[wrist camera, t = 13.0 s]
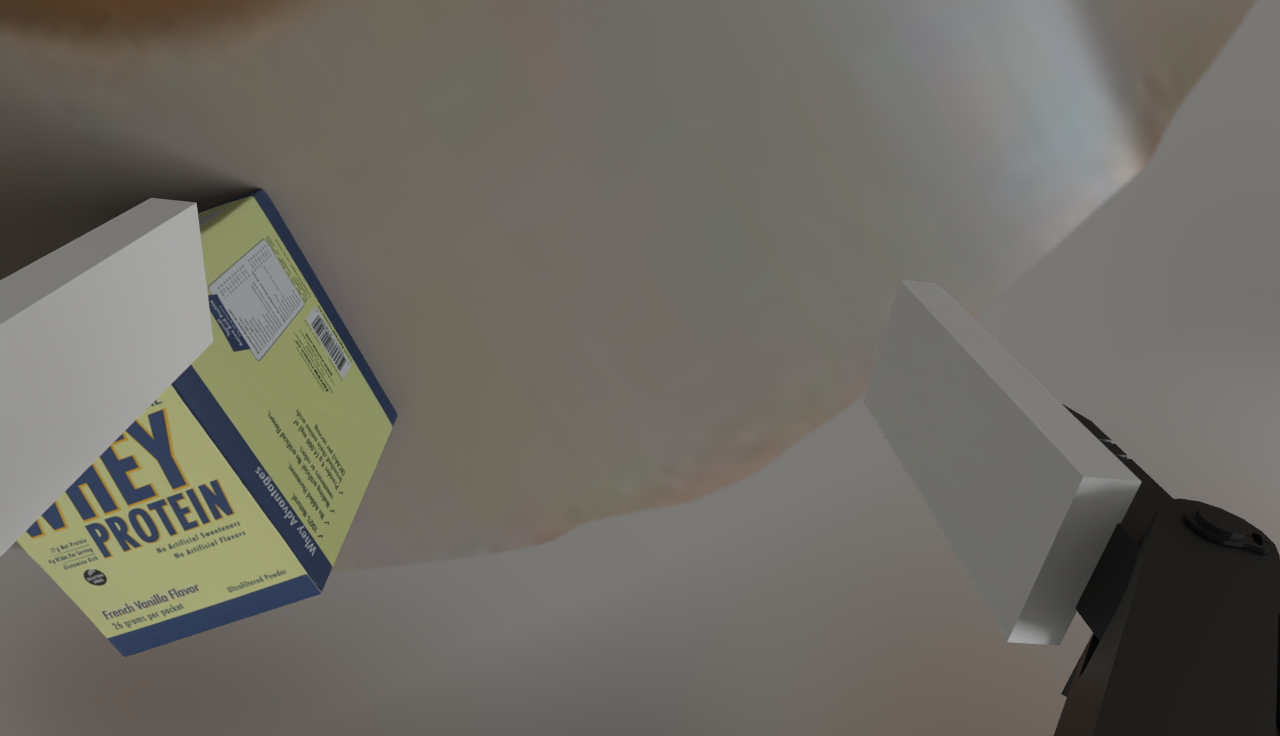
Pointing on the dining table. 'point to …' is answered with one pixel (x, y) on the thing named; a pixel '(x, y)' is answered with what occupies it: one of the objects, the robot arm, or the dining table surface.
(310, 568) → the protein box
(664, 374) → the dining table surface
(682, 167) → the dining table surface
